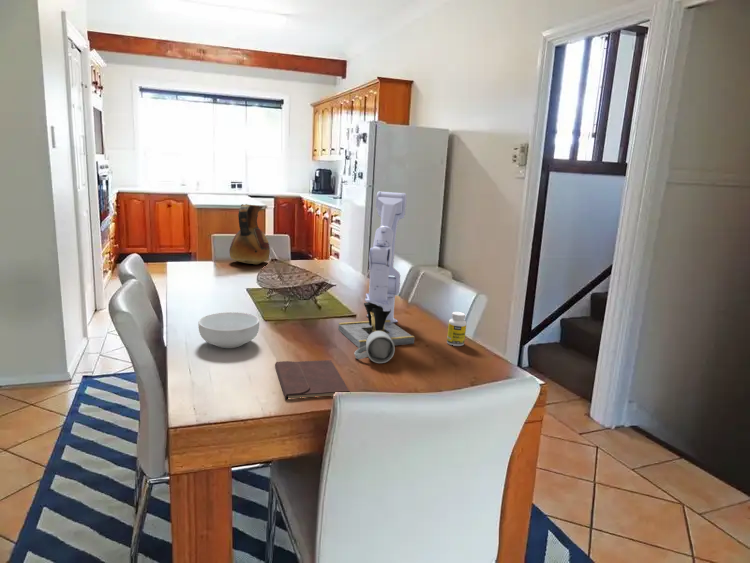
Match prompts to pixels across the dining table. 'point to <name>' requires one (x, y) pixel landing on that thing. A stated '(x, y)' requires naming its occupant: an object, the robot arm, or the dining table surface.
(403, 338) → the jig
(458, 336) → the supplement bottle
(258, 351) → the dining table surface
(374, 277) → the robot arm
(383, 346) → the ceramic mug
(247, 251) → the ceramic pitcher
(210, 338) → the cereal bowl
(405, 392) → the dining table surface
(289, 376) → the notebook
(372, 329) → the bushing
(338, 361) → the dining table surface
